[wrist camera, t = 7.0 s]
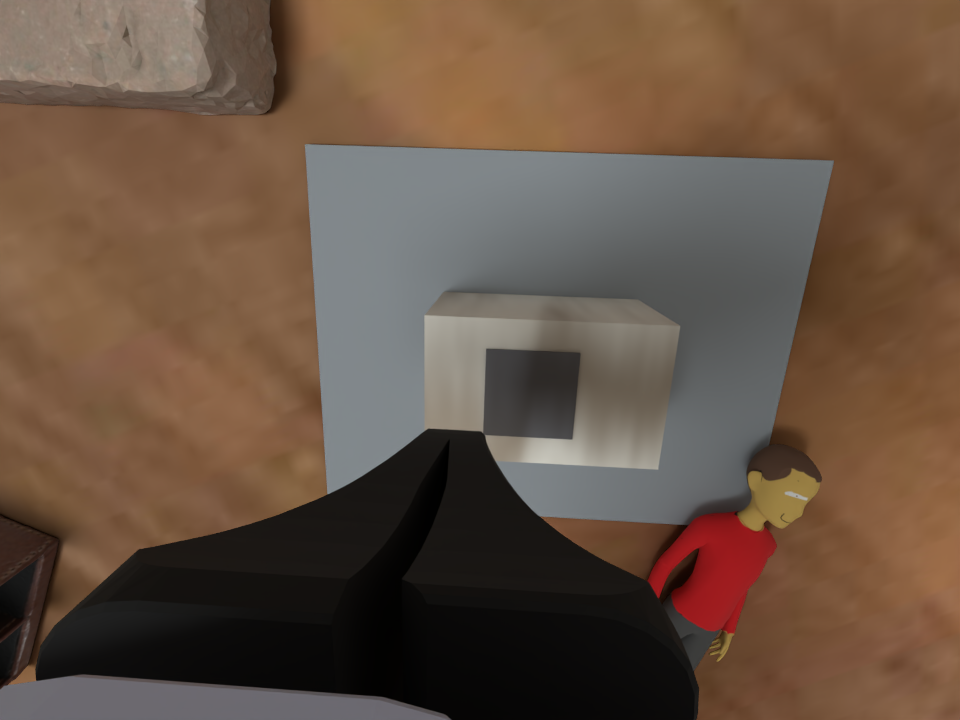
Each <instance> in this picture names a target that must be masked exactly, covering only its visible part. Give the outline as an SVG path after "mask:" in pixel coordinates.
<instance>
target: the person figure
mask: <svg viewBox="0 0 960 720" xmlns="http://www.w3.org/2000/svg"><path fill="white" fill-rule="evenodd" d="M746 475H747V482H748V486H749V489H750V492H751V495H752V499H751V502H750V503H749V505H748V506H747V507H746V508H745V509H744V510H742V511H740V512H739V511H734V512H727V513H712V514H705V515H702V516H699V517H697V518H695V519H694V520H693V521H692V522H691V523H690V524H689V525H688V527H687V528H686V529H685V530H684V531H683V532H682V534H681V535H680V536H679V537H678V538H677V539H676V541H675V542H674V543H673V544H672V545H671V546H670V547H669V548H668V549H667V550H666V551H665V552H664V553H663V554H662V555H661V556H660V558H659V559H658V561H657V562H656V564H655V565H654V567H653V569H652V571H651V573H650V575H649V578H648V580H647V582H649V583H650V585H651V587H652V588H653V590H654V592H655V593H656V595H657V597H658V599H659V596H660V594H661V591H662V589H663V586H664V584H665V582H666V579H667V577H668V576H669V574H670V573H671V571H672V570H673V569H674V568H675V567H676V566H677V565H678V564H679V563H680V562H681V561H682V560H683V559H684V558H685V557H686V556H688V555H689V554H690V553H691V552H693V551H694V550H695V549H697V548H699V552H698V556H697V560H696V564H695V567H694V571H693V572H692V574H691V575H690V577H689V579H688V580H687V581H686V582H685V583H684V584H683V585H682V586H681V587H680V588H677V589H674V590H673V591H672V593H671V594H670V595H669V596H668V597H667V598H666V600H665V601H664V602H663V604H662V605H663V607H664V609H665V611H666V612H667V614H668V616H669V618H670V620H671V621H672V623H673V625H674V627H675V629H676V631H677V632H678V634H679V636H680V639H681V641H682V643H683V645H684V648H685V650H686V652H687V655H688V657H689V660H690V662H691V665H692V668H693V671H694V670H695V668H696V667H697V665H698V664H699V662H700V661H701V659H702V657H703V656H704V654H705V652H706V651H707V650H708V648H710V649H711V648H717V647H719V646H721V647H720V648H719V649H718V650H716V651H713V652H710V653H709V655H714V654H718V653H720V654H721V655H720V656H719V657H718V658H717V659H716V661H717V662H718V661H720V660H721V659H722V658H723V656H724V655H725V654H726V652H727V650H728V648H729V645H730V642H731V639H732V635H734V634H735V630H736V625H737V622H738V619H739V616H740V613H741V610H742V607H743V604H744V602H745V598H746V595H747V591H748V589H749V588H750V586H751V585H752V584H753V583H754V582H755V581H756V580H757V579H758V577H759V576H760V574H761V572H762V570H763V568H764V566H765V564H766V561H767V559H768V558H769V557H770V556H771V555H773V553H774V551H775V549H776V547H777V545H776V542H775V540H774V538H773V536H772V534H771V533H770V532H769V530H768V529H767V528H766V527H765V525H764V523H765V521H767V520H768V521H769V522H770V523H772V524H773V525H774V526H776V527H778V528H785V527H786V526H787V525H789V524H790V523H791V522H793V521H794V520H795V519H796V518H799V517H801V516H802V514H803V510H804V507H805V505H806V504H807V503H808V502H809V501H810V500H811V499H812V498H813V497H814V496H815V495H816V494H817V492H818V490H819V486H820V482H821V481H822V477H821V474H820V472H819V470H818V469H817V467H816V466H815V464H814V463H813V462H812V460H811V459H810V458H809V457H808V456H807V455H805V454H804V453H803V452H801V451H799V450H797V449H795V448H793V447H790V446H786V445H780V444H774V445H770V446H767V447H765V448H763V449H761V450H760V451H759V452H757V453H756V454H755V455H754V457H753V458H752V459H751V461H750V462H749V464H748V467H747V471H746ZM720 629H721V630H722V632H721V634H720V636H719V637H718V638H717V639H715V637H716V636H717V634H718V632H719V631H720ZM714 639H715V640H714ZM718 641H719V642H718ZM715 642H718V643H717V644H715V645H712V646H710V645H711V644H712V643H715Z"/></svg>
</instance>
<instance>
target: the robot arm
mask: <svg viewBox="0 0 960 720" xmlns="http://www.w3.org/2000/svg"><path fill="white" fill-rule="evenodd" d="M35 670H36V681H34V682H27V683H20V684H13V685H7V686H3V687H2V688H1V689H0V720H696V719H697V714H698V697H699V687H698V684H697V681H696V678H695V675H694V671H693V668H692V665H691V662H690V660H689V657H688V655H687V652H686V650H685V648H684V645H683V643H682V641H681V639H680V636H679V634H678V632H677V631H676V629H675V627H674V625H673V623H672V621H671V620H670V618H669V616H668V614H667V612H666V611H665V609H664V607H663V605H662V604H661V602H660V600H659V599H658V597H657V595H656V593H655V592H654V590H653V588H652V587H651V585H650V583H649V582H647V581H645V580H643V579H641V578H639V577H637V576H635V575H633V574H631V573H629V572H627V571H624V570H622V569H620V568H618V567H616V566H614V565H612V564H610V563H608V562H606V561H604V560H602V559H600V558H598V557H596V556H595V555H593V554H591V553H590V552H588V551H587V550H585V549H583V548H582V547H580V546H578V545H577V544H575V543H574V542H572V541H571V540H569V539H568V538H566V537H565V536H563V535H562V534H561V533H559V532H558V531H557V530H555V529H554V528H553V527H552V526H550V525H549V524H548V523H547V522H545V521H544V520H543V519H542V518H541V517H539V516H538V515H537V514H536V513H535V512H534V511H533V510H532V509H531V508H530V507H529V506H528V505H527V504H526V503H525V502H524V501H523V500H522V498H521V497H520V496H519V495H518V494H517V492H516V491H515V490H514V488H513V487H512V486H511V484H510V483H509V482H508V480H507V479H506V477H505V476H504V474H503V473H502V471H501V470H500V468H499V466H498V465H497V463H496V461H495V459H494V458H493V456H492V454H491V451H490V449H489V447H488V445H487V442H486V436H485V435H484V434H483V433H482V432H481V431H467V430H448V429H430V428H428V429H427V430H425V431H424V432H423V433H421V434H420V435H419V436H417V437H416V438H415V439H414V440H412V441H411V442H410V443H409V444H407V445H406V446H405V447H403V448H402V449H401V450H399V451H398V452H397V453H395V454H394V455H393V456H391V457H390V458H389V459H387V460H386V461H384V462H383V463H381V464H380V465H378V466H377V467H375V468H374V469H372V470H371V471H369V472H367V473H366V474H364V475H363V476H361V477H360V478H358V479H356V480H355V481H353V482H351V483H349V484H347V485H346V486H344V487H342V488H340V489H338V490H336V491H334V492H332V493H330V494H328V495H326V496H324V497H321V498H319V499H317V500H315V501H312V502H309V503H307V504H304V505H302V506H299V507H297V508H294V509H292V510H289V511H287V512H284V513H282V514H279V515H276V516H274V517H271V518H268V519H264V520H261V521H258V522H255V523H252V524H249V525H245V526H241V527H238V528H234V529H231V530H227V531H224V532H220V533H216V534H212V535H208V536H203V537H198V538H193V539H189V540H184V541H179V542H174V543H170V544H165V545H160V546H155V547H150V548H144V549H139V550H138V551H137V552H135V553H134V554H133V555H132V556H131V557H130V558H129V559H128V560H127V561H125V562H124V563H123V564H122V565H121V566H120V567H119V568H118V569H117V570H115V571H114V572H113V573H112V574H111V575H110V576H109V577H108V578H107V579H106V580H104V581H103V582H102V583H101V584H100V585H99V586H98V587H97V588H96V589H95V590H93V591H92V592H91V593H90V594H89V595H88V596H87V597H86V598H85V599H84V600H82V601H81V602H80V603H79V604H78V605H77V606H76V607H75V608H74V609H73V610H71V611H70V612H69V613H68V614H67V615H66V616H65V617H64V618H63V619H62V620H60V621H59V622H58V623H57V624H56V625H55V626H54V627H53V629H52V630H51V632H50V633H49V635H48V636H47V637H46V639H45V640H44V642H43V643H42V645H41V647H40V651H39V656H38V660H37V664H36V669H35Z"/></svg>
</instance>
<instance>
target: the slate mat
mask: <svg viewBox="0 0 960 720" xmlns="http://www.w3.org/2000/svg"><path fill="white" fill-rule="evenodd" d="M305 151H306V166H307V182H308V198H309V213H310V229H311V244H312V260H313V275H314V291H315V306H316V322H317V337H318V353H319V368H320V384H321V400H322V415H323V431H324V446H325V462H326V477H327V493H328V494H330V493H332V492H334V491H336V490H338V489H340V488H342V487H344V486H346V485H347V484H349V483H351V482H353V481H355V480H356V479H358V478H360V477H361V476H363V475H364V474H366V473H367V472H369V471H371V470H372V469H374V468H375V467H377V466H378V465H380V464H381V463H383V462H384V461H386V460H387V459H389V458H390V457H391V456H393V455H394V454H395V453H397V452H398V451H399V450H401V449H402V448H403V447H405V446H406V445H407V444H409V443H410V442H411V441H412V440H414V439H415V438H416V437H417V436H419V435H420V434H421V433H423V432H424V431H425V403H424V315H425V314H426V313H427V312H428V310H429V309H430V308H431V307H432V305H433V304H434V303H435V302H436V301H437V299H438V298H439V297H440V296H441V294H442V293H443V292H463V293H488V294H513V295H538V296H563V297H588V298H613V299H638V300H639V301H641V302H643V303H644V304H646V305H647V306H649V307H651V308H652V309H654V310H655V311H657V312H659V313H660V314H662V315H663V316H665V317H667V318H668V319H670V320H671V321H673V322H675V323H676V324H678V325H680V332H679V338H678V345H677V351H676V358H675V364H674V370H673V377H672V383H671V390H670V396H669V403H668V409H667V415H666V422H665V428H664V435H663V441H662V448H661V454H660V460H659V467H658V470H655V469H637V468H618V467H599V466H581V465H562V464H543V463H525V462H506V461H496V463H497V465H498V466H499V468H500V470H501V471H502V473H503V474H504V476H505V477H506V479H507V480H508V482H509V483H510V484H511V486H512V487H513V488H514V490H515V491H516V492H517V494H518V495H519V496H520V497H521V498H522V500H523V501H524V502H525V503H526V504H527V505H528V506H529V507H530V508H531V509H532V510H533V511H534V512H535V513H536V514H537V515H538V516H544V517H561V518H577V519H594V520H611V521H627V522H644V523H661V524H677V525H689V524H690V523H691V522H692V521H693V520H694V519H695V518H697V517H699V516H702V515H705V514H712V513H727V512H734V511H739V512H740V511H742V510H744V509H745V508H746V507H747V506H748V505H749V503H750V502H751V499H752V495H751V492H750V489H749V486H748V482H747V475H746V471H747V467H748V464H749V462H750V461H751V459H752V458H753V457H754V455H755V454H756V453H757V452H759V451H760V450H761V449H763V448H765V447H767V446H769V443H770V438H771V434H772V429H773V425H774V421H775V416H776V412H777V408H778V403H779V399H780V394H781V390H782V386H783V381H784V377H785V373H786V368H787V364H788V360H789V355H790V351H791V346H792V342H793V338H794V333H795V329H796V325H797V320H798V316H799V311H800V307H801V303H802V298H803V294H804V290H805V285H806V281H807V276H808V272H809V268H810V263H811V259H812V255H813V250H814V246H815V242H816V237H817V233H818V228H819V224H820V220H821V215H822V211H823V207H824V202H825V198H826V193H827V189H828V185H829V180H830V176H831V172H832V167H833V163H834V161H827V160H795V159H763V158H730V157H698V156H666V155H633V154H601V153H569V152H537V151H504V150H472V149H440V148H408V147H375V146H343V145H311V144H305Z"/></svg>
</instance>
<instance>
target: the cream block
mask: <svg viewBox="0 0 960 720" xmlns="http://www.w3.org/2000/svg"><path fill="white" fill-rule="evenodd" d="M679 332H680V325H678V324H676V323H675V322H673V321H671V320H670V319H668V318H667V317H665V316H663V315H662V314H660V313H659V312H657V311H655V310H654V309H652V308H651V307H649V306H647V305H646V304H644V303H643V302H641V301H639V300H638V299H613V298H588V297H563V296H538V295H513V294H488V293H463V292H443V293H442V294H441V296H440V297H439V298H438V299H437V301H436V302H435V303H434V304H433V305H432V307H431V308H430V309H429V310H428V312H427V313H426V314H425V315H424V403H425V430H427V429H428V428H430V429H448V430H467V431H481V432H482V433H483V434H484V435H485V436H486V442H487V445H488V447H489V449H490V451H491V454H492V456H493V458H494V459H495V461H506V462H525V463H543V464H562V465H581V466H599V467H618V468H637V469H655V470H658V467H659V460H660V454H661V448H662V441H663V435H664V428H665V422H666V415H667V409H668V403H669V396H670V390H671V383H672V377H673V370H674V364H675V358H676V351H677V345H678V338H679Z"/></svg>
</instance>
